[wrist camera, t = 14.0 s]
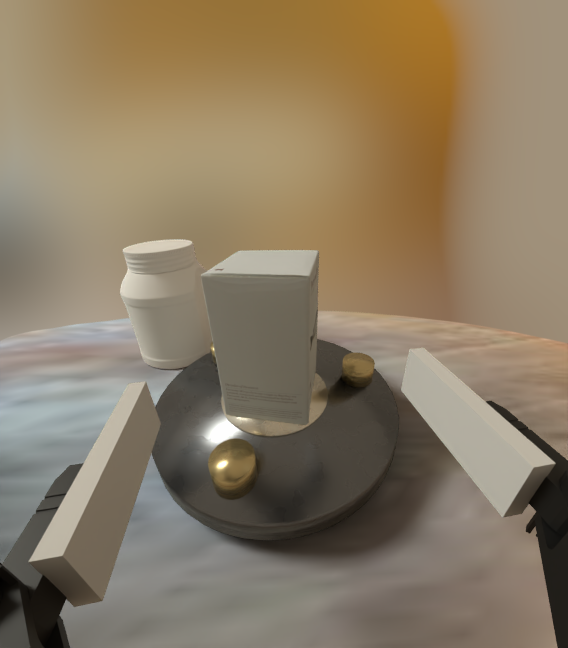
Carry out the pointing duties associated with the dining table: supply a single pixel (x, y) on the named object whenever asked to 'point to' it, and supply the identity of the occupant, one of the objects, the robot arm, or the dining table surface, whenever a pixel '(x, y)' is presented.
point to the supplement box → (265, 332)
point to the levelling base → (277, 450)
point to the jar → (166, 302)
